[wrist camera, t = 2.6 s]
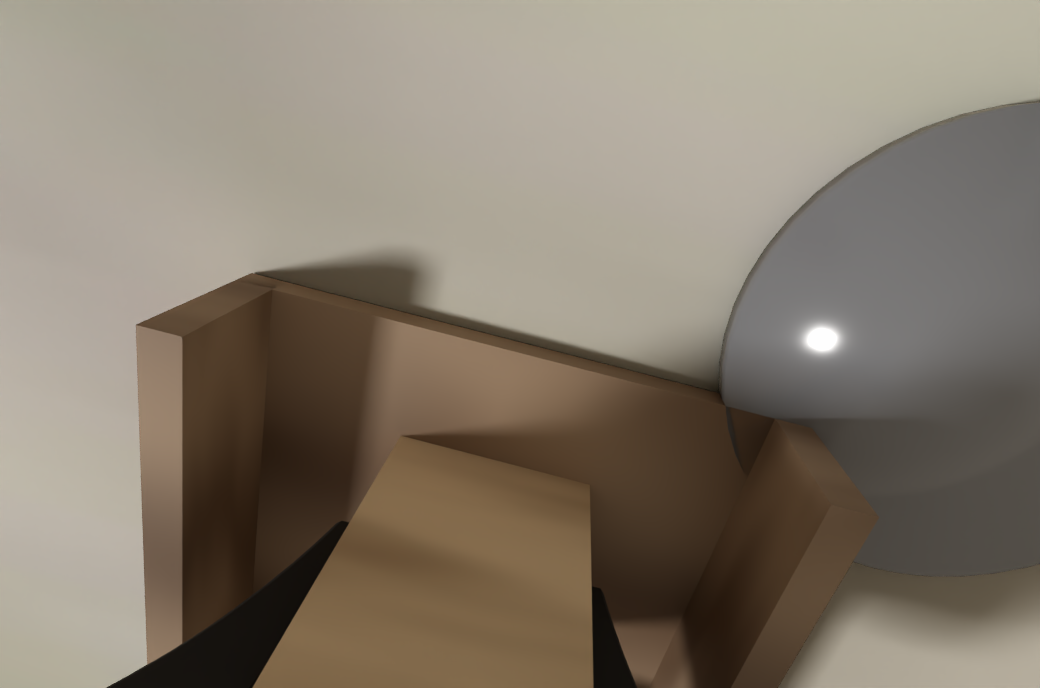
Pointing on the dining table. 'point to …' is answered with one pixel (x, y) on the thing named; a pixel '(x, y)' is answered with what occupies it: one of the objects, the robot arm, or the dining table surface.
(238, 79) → the dining table surface
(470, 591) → the oak block
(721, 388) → the slate coaster
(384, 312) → the crate
